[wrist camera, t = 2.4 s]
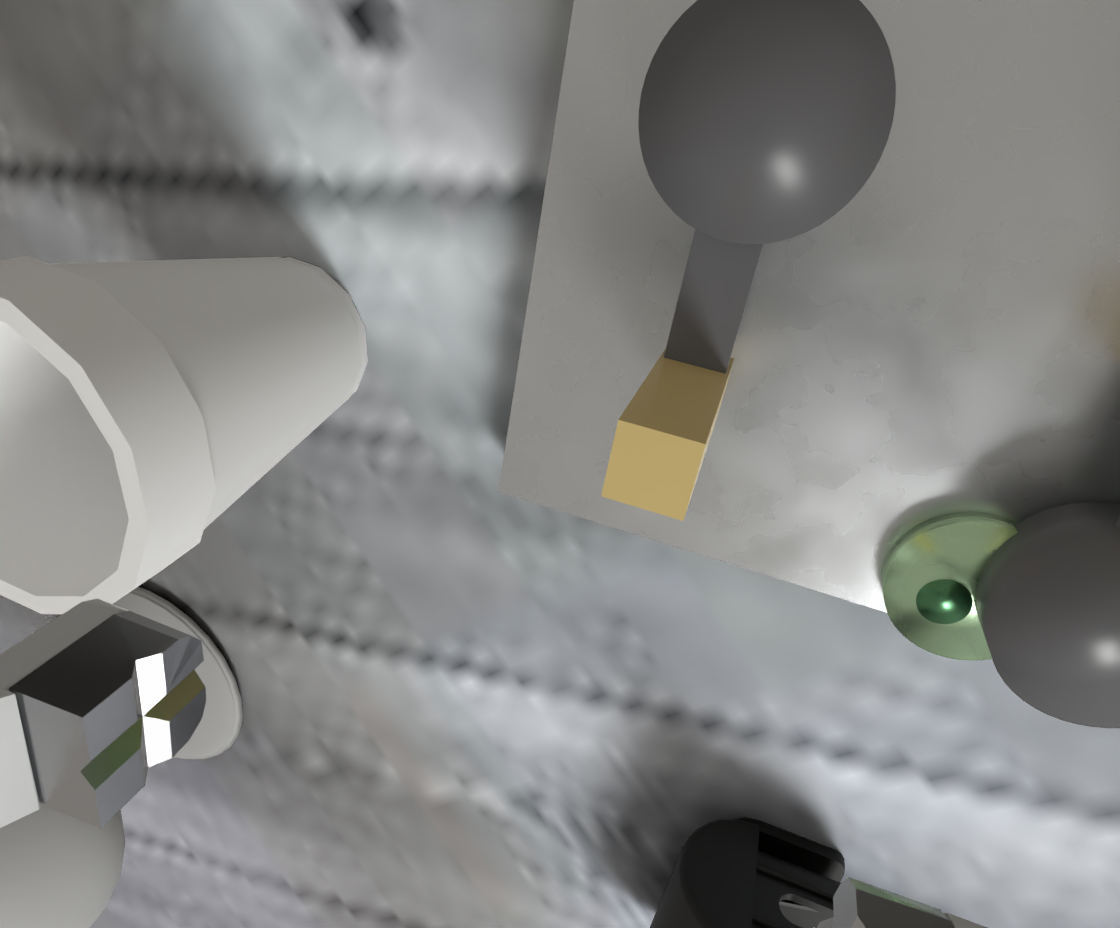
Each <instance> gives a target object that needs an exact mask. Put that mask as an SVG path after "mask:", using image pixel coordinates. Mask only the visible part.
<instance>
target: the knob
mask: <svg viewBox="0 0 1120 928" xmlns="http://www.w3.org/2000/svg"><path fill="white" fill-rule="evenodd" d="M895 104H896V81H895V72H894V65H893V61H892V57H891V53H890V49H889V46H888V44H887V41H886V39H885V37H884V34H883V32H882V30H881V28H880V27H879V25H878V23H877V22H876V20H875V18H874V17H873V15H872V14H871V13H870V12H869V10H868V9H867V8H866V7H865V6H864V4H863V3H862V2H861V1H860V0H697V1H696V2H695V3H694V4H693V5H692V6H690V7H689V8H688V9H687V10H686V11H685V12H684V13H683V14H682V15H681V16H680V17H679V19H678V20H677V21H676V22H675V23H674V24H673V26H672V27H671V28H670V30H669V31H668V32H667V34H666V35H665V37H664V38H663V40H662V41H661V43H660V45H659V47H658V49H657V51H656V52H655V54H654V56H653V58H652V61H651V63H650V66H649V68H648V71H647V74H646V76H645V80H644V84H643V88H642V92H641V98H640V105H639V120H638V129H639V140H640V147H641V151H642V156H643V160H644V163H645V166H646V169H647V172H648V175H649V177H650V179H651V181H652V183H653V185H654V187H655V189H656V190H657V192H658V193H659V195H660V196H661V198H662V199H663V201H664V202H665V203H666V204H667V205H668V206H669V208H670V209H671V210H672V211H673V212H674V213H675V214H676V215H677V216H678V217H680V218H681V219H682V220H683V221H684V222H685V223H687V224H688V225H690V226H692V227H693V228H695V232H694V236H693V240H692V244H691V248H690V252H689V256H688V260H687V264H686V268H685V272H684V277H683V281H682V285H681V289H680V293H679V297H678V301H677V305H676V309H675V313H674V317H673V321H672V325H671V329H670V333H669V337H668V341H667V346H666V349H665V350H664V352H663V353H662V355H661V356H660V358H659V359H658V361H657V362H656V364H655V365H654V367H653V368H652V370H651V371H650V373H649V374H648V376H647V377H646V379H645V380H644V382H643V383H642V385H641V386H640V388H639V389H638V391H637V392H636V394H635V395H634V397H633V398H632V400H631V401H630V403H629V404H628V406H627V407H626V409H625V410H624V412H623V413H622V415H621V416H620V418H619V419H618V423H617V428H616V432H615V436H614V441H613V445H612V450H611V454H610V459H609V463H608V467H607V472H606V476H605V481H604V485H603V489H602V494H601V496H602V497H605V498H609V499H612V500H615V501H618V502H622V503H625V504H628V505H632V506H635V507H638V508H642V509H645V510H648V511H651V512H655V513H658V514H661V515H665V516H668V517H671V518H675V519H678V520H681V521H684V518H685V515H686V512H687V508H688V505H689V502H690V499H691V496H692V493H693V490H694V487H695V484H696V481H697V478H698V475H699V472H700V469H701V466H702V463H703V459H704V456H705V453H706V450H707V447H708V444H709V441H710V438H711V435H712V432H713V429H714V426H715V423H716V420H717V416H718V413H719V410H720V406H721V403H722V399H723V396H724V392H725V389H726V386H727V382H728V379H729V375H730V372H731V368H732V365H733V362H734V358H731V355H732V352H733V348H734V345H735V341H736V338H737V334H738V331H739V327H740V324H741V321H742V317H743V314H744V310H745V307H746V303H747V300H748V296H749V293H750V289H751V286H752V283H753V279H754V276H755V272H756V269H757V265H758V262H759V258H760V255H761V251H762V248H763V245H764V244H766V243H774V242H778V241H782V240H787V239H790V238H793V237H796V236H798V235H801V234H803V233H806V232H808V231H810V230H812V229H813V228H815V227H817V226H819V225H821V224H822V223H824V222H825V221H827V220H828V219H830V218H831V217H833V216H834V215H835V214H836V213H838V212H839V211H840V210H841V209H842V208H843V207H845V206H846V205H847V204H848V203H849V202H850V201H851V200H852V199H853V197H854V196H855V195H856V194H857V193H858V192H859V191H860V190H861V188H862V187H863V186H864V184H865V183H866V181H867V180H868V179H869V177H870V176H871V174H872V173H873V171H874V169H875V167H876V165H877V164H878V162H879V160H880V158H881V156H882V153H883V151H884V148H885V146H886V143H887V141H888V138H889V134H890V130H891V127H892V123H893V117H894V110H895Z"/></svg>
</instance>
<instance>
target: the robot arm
mask: <svg viewBox="0 0 1120 928" xmlns="http://www.w3.org/2000/svg"><path fill="white" fill-rule="evenodd" d="M203 661H204V657H203V649H202V641H201V640H199V639H197V638H195V637H193V636H191V635H189V634H186V633H184V632H181V631H179V630H176V629H174V628H171V627H169V626H166V625H164V624H161V623H159V622H156V621H154V620H151V619H149V618H147V617H144V616H142V615H139V614H137V613H134V612H132V611H128V610H126V609H123V608H121V607H118V606H116V605H113V604H110V603H108V602H105V601H103V600H100V599H98V598H97V599H93V600H88V601H83V602H81V603H79V604H78V605H76V606H74V607H73V608H71V609H70V610H68V611H67V612H65V613H64V614H62V615H61V616H59V617H57V618H56V619H54V620H53V621H51V622H50V623H48V624H47V625H45V626H44V627H42V628H41V629H39V630H37V631H36V632H34V633H33V634H31V635H30V636H28V637H27V638H25V639H24V640H22V641H21V642H19V643H17V644H16V645H14V646H13V647H11V648H10V649H8V650H7V651H5V652H4V653H2V654H1V655H0V828H1V827H3V826H5V825H8V824H10V823H12V822H14V821H16V820H18V819H20V818H22V817H24V816H26V815H29V814H31V813H33V812H35V811H37V810H39V809H40V804H41V805H43V806H46V807H48V808H51V809H53V810H56V811H58V812H61V813H63V814H66V815H68V816H71V817H73V818H76V819H78V820H81V821H83V822H86V823H88V824H91V825H93V826H96V827H98V828H102V827H103V826H104V825H105V824H106V823H107V822H108V821H109V820H110V819H111V818H112V817H113V816H114V815H115V814H116V813H117V812H118V811H119V810H120V809H121V808H122V807H123V806H124V805H125V804H127V803H128V802H129V801H130V800H131V799H132V798H133V797H134V796H135V795H136V794H137V793H138V792H139V791H140V790H141V789H142V788H143V787H144V786H145V782H146V776H147V771H148V767H150V766H152V765H155V764H158V763H160V762H163V761H165V760H168V759H171V758H173V757H174V756H175V755H176V754H177V753H178V751H179V750H180V749H181V748H182V747H183V746H184V745H185V744H186V743H187V742H188V741H189V740H190V738H191V736H192V735H193V733H194V731H195V730H196V728H197V726H198V724H199V723H200V721H201V719H202V716H203V712H204V708H205V704H206V687H205V685H204V684H203V682H202V680H201V679H200V677H199V676H198V674H197V673H196V671H195V669H196V668H197V667H198V666H199V665H200V664H201V663H202V662H203ZM833 911H834V917H833V918H830V919H827V920H824V921H821V922H819V924H818V926H817V928H987V927H984V926H981V925H979V924H976V923H973V922H970V921H968V920H965V919H962V918H960V917H957V916H954V915H951V914H949V913H943V912H942V911H941V910H940V909H937V908H934V907H931V906H929V905H926V904H923V903H920V902H917V901H915V900H912V899H909V898H906V897H903V896H901V895H898V894H895V893H892V892H889V891H886V890H884V889H881V888H878V887H875V886H872V885H870V884H867V883H864V882H861V881H858V880H856V879H853V878H850V877H848V878H847V879H845V880H844V881H843V882H841V884H840V885H839V887H838V889H837V891H836V893H835V894H834V896H833Z"/></svg>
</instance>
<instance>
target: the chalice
mask: <svg viewBox="0 0 1120 928" xmlns="http://www.w3.org/2000/svg"><path fill="white" fill-rule="evenodd" d="M113 605H116V606H118V607H121V608H123V609H126V610H128V611H132V612H134V613H137V614H139V615H142V616H144V617H147V618H149V619H151V620H154V621H156V622H159V623H161V624H164V625H166V626H169V627H171V628H174V629H176V630H179V631H181V632H184V633H186V634H189V635H191V636H193V637H195V638H197V639H199V640H201V641H202V649H203V657H204V661H203V662H202V663H201V664H200V665H199V666H198V667H197V668H196V669H195V671H196V673H197V674H198V676H199V677H200V679H201V680H202V682H203V684H204V685H205V687H206V704H205V708H204V712H203V716H202V719H201V721H200V723H199V724H198V726H197V728H196V730H195V731H194V733H193V735H192V736H191V738H190V740H189V741H188V742H187V743H186V744H185V745H184V746H183V747H182V748H181V749H180V750H179V751H178V753H177V754H176V755H175V756H174V757H177V758H182V759H207V758H211V757H214V756H218V755H220V754H222V753H223V752H224V751H226V750H227V749H228V748H230V747H231V746H232V745H233V743H234V741H235V740H236V738H237V737H238V735H239V733H240V728H241V724H242V720H243V714H242V699H241V696H240V693H239V689H238V686H237V683H236V679H235V677H234V675H233V674H232V672H231V670H230V668H229V666H228V664H227V662H226V660H225V658H224V657H223V655H222V654H221V652H220V651H219V650H218V648H217V647H216V646H215V644H214V643H213V642H212V640H211V639H210V637H209V636H208V635H207V634H206V633H205V632H204V631H203V630H202V629H201V628H200V627H199V626H198V625H197V624H196V623H195V622H194V621H193V620H192V619H191V618H190V617H189V616H187V615H186V614H185V613H183V612H182V611H181V610H179V609H178V608H177V607H176V606H174V605H173V604H172V603H170V602H169V601H167V600H165V599H163V598H161V597H160V596H158V595H156V594H154V593H152V592H151V591H149V590H146V589H143V588H141V587H137V588H135V589H134V590H132V591H131V592H129V593H128V594H126V595H125V596H123V597H122V598H120V599H119V600H117V601H116V602H115V603H113ZM61 615H62V614H61ZM61 615H60V616H61ZM124 848H125V836H124V830H123V823H122V816H121V810H119V811H118V812H117V813H116V814H115V815H114V816H113V817H112V818H111V819H110V820H109V821H108V822H107V823H106V824H105V825H104V826H103V827H102V828H98V827H96V826H93V825H91V824H88V823H86V822H83V821H81V820H78V819H76V818H73V817H71V816H68V815H66V814H63V813H61V812H58V811H56V810H53V809H51V808H48V807H46V806H43V805H41V804H40V809H39V810H37V811H35V812H33V813H31V814H29V815H26V816H24V817H22V818H20V819H18V820H16V821H14V822H12V823H10V824H8V825H5V826H3V827H1V828H0V928H89V927H90V926H91V925H92V924H93V922H94V921H95V920H96V919H97V918H98V917H99V915H100V914H101V913H102V912H103V911H104V909H105V907H106V905H107V903H108V901H109V899H110V897H111V895H112V893H113V890H114V888H115V886H116V884H117V882H118V880H119V878H120V876H121V869H122V862H123V855H124Z"/></svg>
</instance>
